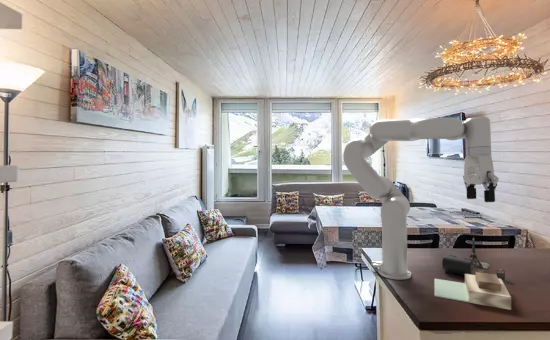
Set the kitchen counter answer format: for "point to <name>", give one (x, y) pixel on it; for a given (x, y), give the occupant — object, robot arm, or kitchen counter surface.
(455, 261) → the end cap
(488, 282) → the brown box
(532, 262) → the kitchen counter surface
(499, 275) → the strap clip
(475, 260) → the eiffel tower figurine
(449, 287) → the mat
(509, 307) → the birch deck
